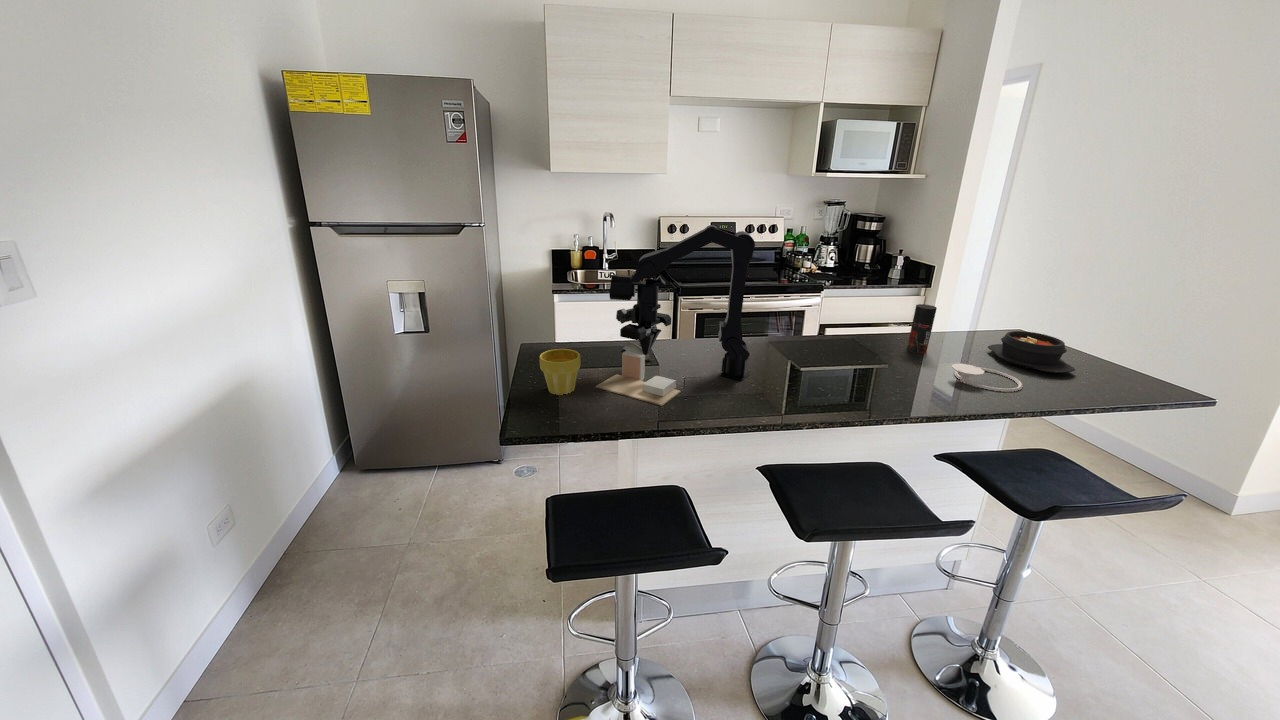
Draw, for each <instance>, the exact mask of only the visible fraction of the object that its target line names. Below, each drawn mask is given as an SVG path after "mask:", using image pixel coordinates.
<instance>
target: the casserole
mask: <svg viewBox="0 0 1280 720" xmlns="http://www.w3.org/2000/svg"><path fill="white" fill-rule="evenodd" d="M1000 340H1001V343H996V344H995V343H994V344H990V345H988V346H987V349H989V350H990V351H992V352H993V353H994V354H995V355H996V356H997V357H999V358H1000V359H1003V360H1004V361H1007V362H1009V363H1010V364H1012V365H1016V366H1019V367H1022V368H1026V367H1027V369H1031V368H1032V369H1033V370H1034V369H1035V370H1039V371H1042V372H1046V373H1054V374H1055V373H1056V374H1057V373H1058V374H1062V373H1063V374H1065V373H1066V374H1067V373H1072V372H1074V371H1076V369H1075V367H1073V366H1072V365H1070V364H1069V363H1066V362H1065V361H1064V360H1063V359H1062V356H1063V354H1066V353H1067V351H1068V350H1067V348H1066V345H1065V343H1066V342H1064V340H1062V339H1059V338H1057V337H1054V336H1051V335H1048V334H1044V333H1039V332H1033V331H1023V330H1021V331H1020V330H1013V331H1011V330H1010V331H1008V332H1006V334H1005V335H1004V336H1003V337H1001V338H1000Z"/></svg>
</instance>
